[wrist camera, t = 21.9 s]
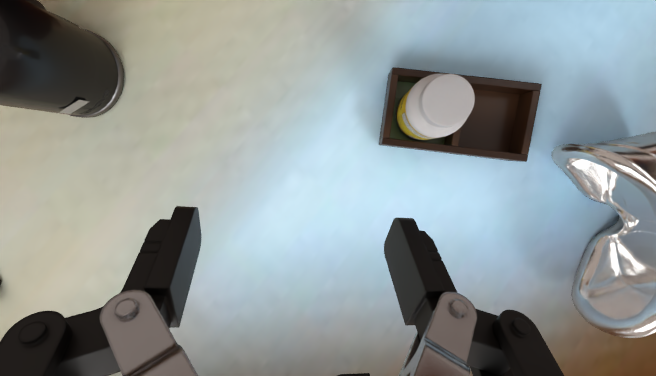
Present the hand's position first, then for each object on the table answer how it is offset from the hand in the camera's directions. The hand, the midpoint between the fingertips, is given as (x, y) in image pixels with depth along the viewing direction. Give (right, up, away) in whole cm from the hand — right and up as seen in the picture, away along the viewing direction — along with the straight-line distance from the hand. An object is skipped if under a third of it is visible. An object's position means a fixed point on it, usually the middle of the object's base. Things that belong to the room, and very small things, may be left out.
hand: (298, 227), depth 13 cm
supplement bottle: (+11, +9, +21) cm, 26 cm away
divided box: (+14, +9, +22) cm, 28 cm away
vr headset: (+30, -1, +22) cm, 38 cm away
